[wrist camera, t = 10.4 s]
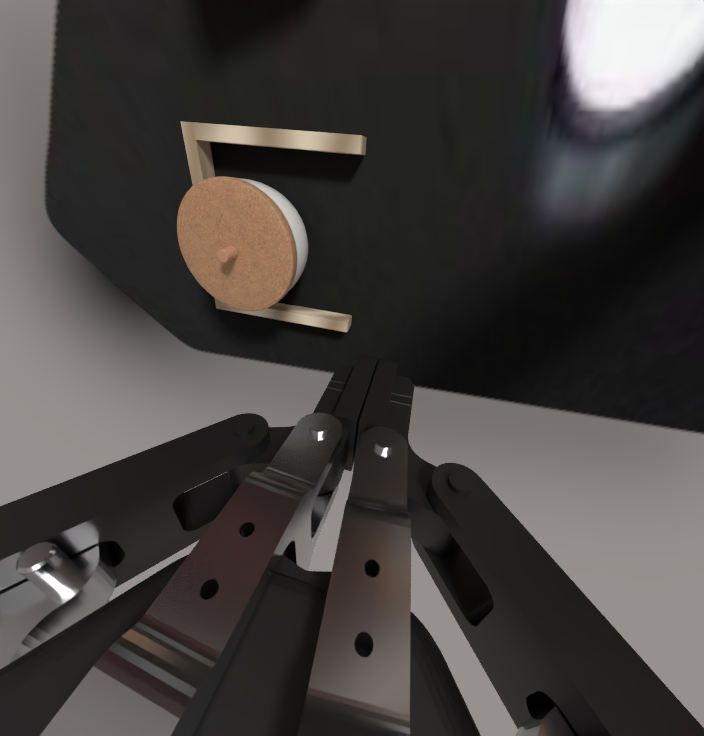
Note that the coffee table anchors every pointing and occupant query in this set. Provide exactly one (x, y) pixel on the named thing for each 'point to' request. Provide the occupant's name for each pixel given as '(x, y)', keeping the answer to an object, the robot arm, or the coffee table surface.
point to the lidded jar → (241, 241)
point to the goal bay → (203, 134)
